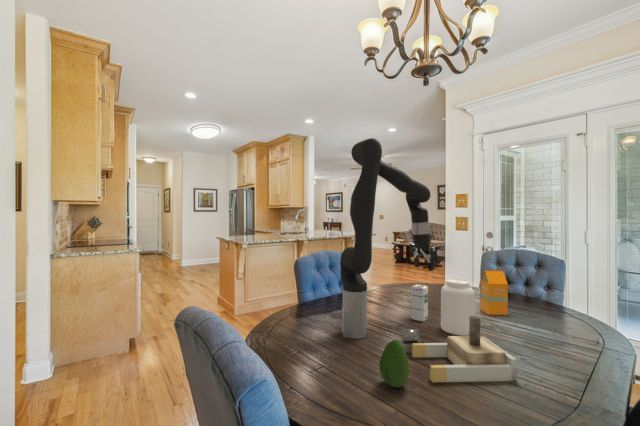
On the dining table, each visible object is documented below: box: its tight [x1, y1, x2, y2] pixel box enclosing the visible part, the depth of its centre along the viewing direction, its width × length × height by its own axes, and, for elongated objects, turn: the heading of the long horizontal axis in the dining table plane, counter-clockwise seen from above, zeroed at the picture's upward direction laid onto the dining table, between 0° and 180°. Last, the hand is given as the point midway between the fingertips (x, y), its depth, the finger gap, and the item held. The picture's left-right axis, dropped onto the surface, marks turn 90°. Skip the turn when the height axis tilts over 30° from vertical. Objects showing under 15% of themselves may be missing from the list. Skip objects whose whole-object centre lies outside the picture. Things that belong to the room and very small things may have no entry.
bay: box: [411, 336, 518, 383], centre depth 93 cm, size 24×16×6 cm, turn 93°
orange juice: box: [480, 269, 509, 316], centre depth 146 cm, size 8×9×20 cm
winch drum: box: [399, 328, 422, 354], centre depth 104 cm, size 6×4×7 cm, turn 93°
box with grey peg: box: [446, 315, 506, 365], centre depth 93 cm, size 11×12×15 cm
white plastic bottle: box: [440, 278, 476, 336], centre depth 122 cm, size 12×12×20 cm
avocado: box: [378, 339, 411, 389], centre depth 82 cm, size 8×8×12 cm
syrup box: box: [410, 284, 429, 322], centre depth 136 cm, size 6×6×14 cm
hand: (424, 268), depth 134 cm, fingers open, 8 cm apart
